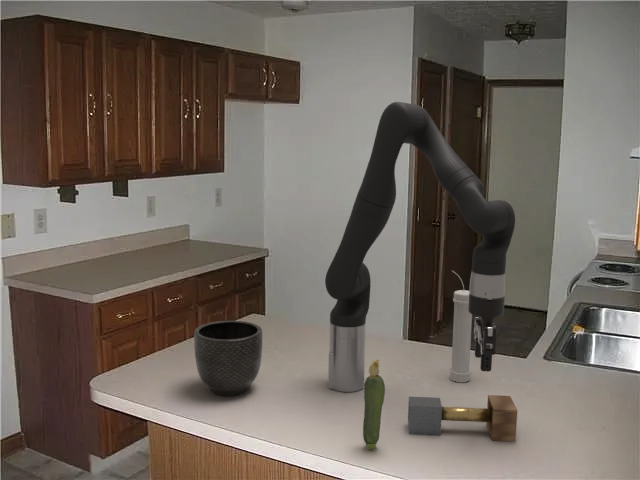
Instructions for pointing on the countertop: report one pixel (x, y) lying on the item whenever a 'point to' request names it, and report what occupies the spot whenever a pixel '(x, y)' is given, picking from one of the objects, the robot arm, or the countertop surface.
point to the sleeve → (424, 415)
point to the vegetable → (373, 405)
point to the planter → (228, 355)
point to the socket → (502, 418)
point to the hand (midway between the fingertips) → (482, 363)
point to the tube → (467, 414)
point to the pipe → (461, 337)
